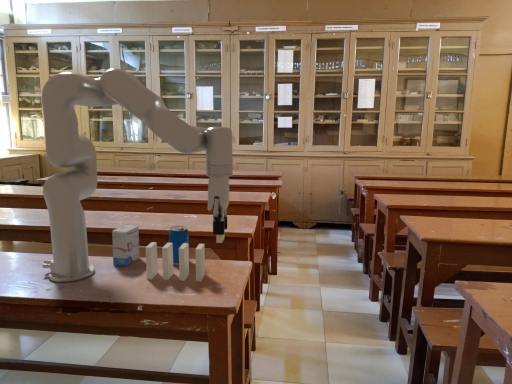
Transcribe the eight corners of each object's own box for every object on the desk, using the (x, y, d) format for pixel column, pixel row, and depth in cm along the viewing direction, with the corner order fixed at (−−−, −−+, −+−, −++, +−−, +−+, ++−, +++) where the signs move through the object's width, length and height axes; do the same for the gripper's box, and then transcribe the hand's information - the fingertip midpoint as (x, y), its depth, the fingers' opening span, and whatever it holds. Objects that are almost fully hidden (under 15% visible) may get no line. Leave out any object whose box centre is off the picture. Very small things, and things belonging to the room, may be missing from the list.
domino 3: (179, 280, 104) (178, 248, 102) (184, 273, 109) (183, 243, 107) (184, 280, 104) (184, 248, 102) (189, 274, 108) (188, 243, 107)
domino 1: (146, 279, 104) (145, 247, 103) (153, 272, 109) (151, 242, 108) (152, 279, 104) (150, 247, 103) (157, 272, 109) (156, 242, 107)
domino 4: (196, 281, 103) (195, 249, 102) (199, 274, 108) (199, 243, 107) (201, 281, 103) (200, 249, 102) (204, 274, 108) (204, 243, 106)
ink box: (126, 266, 114) (124, 231, 112) (112, 265, 115) (110, 230, 113) (140, 257, 122) (138, 225, 120) (127, 256, 123) (125, 224, 121)
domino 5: (216, 242, 101) (215, 209, 99) (219, 237, 106) (218, 205, 104) (221, 243, 101) (221, 209, 99) (224, 237, 106) (224, 205, 104)
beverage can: (182, 266, 114) (181, 231, 112) (166, 264, 116) (164, 229, 114) (192, 260, 120) (192, 226, 118) (176, 257, 122) (175, 224, 120)
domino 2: (163, 279, 104) (162, 247, 102) (168, 273, 109) (167, 242, 107) (168, 280, 104) (167, 248, 102) (173, 273, 109) (172, 242, 107)
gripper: (212, 167, 108) (213, 224, 111) (199, 173, 92) (201, 240, 95) (236, 167, 108) (236, 224, 111) (228, 174, 91) (228, 240, 94)
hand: (220, 231), depth 103 cm, fingers closed on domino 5, 4 cm apart
